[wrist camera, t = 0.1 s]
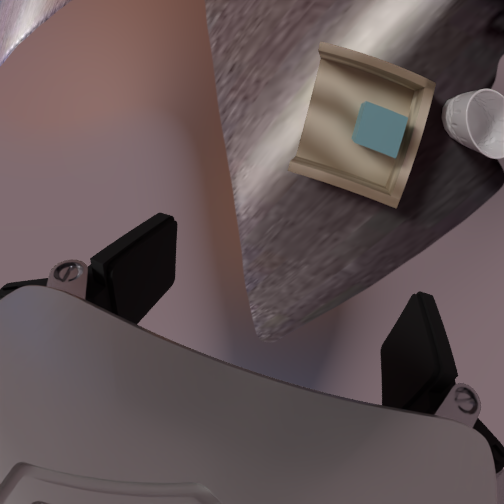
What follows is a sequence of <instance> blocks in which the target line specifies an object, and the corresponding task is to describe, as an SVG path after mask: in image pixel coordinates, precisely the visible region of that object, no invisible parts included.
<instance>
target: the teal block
mask: <svg viewBox="0 0 504 504" xmlns="http://www.w3.org/2000/svg"><path fill="white" fill-rule="evenodd" d="M407 121H408V117H406V116H403V115H401V114H398V113H396V112H394V111H391V110H389V109H386V108H383V107H381V106H378V105H376V104H373V103H370V102H367V101H365V102H364V103H362V104H361V106H360V110H359V113H358V117H357V120H356V124H355V128H354V131H353V135H352V138H351V139H352V140H353V142H354V143H356V144H359V145H362V146H365V147H367V148H370V149H373V150H375V151H378V152H381V153H383V154H386V155H388V156H391V157H393V158H396V157H397V154H398V151H399V148H400V144H401V141H402V138H403V135H404V131H405V128H406V124H407Z"/></svg>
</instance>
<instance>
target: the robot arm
mask: <svg viewBox="0 0 504 504" xmlns="http://www.w3.org/2000/svg"><path fill="white" fill-rule="evenodd" d="M176 240H177V222H176V221H174V217H173V216H170V215H167V214H163V213H158V214H156V215H154V216H153V217H151V218H150V219H148V220H147V221H145V222H143V223H142V224H140V225H139V226H137V227H136V228H134V229H133V230H131V231H130V232H128V233H127V234H125V235H124V236H122V237H121V238H119V239H118V240H116V241H115V242H113V243H112V244H110V245H109V246H107V247H106V248H104V249H103V250H101V251H100V252H99V253H97V254H96V255H95V256H93V257H92V258H90V260H91V265H90V266H88V267H87V265H86V264H85V263H84V262H82V261H79V260H66V261H63V262H60V263H58V264H57V265H55V266H54V267H53V268H52V269H51V272H50V274H49V278H45V279H37V280H28V281H21V282H13V283H8V284H6V285H4V286H3V287H2V288H1V289H0V504H504V470H503V467H504V447H503V445H502V444H501V443H500V442H499V441H498V440H497V438H496V437H495V436H494V435H493V434H492V433H491V432H490V431H489V430H488V428H487V427H486V426H485V425H484V424H483V423H482V422H481V421H480V420H479V419H478V416H479V413H480V410H481V402H480V399H479V396H478V395H477V393H476V392H475V390H474V389H473V388H471V387H470V386H469V385H466V384H464V383H458V384H456V383H455V378H456V377H457V376H458V373H457V369H456V366H455V362H454V358H453V355H452V351H451V348H450V344H449V341H448V338H447V335H446V332H445V329H444V325H443V322H442V320H441V317H440V314H439V311H438V308H437V306H436V303H435V300H434V298H433V296H432V295H430V294H427V293H423V292H418V293H417V294H413V295H412V296H411V298H410V300H409V301H408V303H407V305H406V307H405V309H404V310H403V312H402V314H401V315H400V317H399V319H398V320H397V322H396V324H395V325H394V327H393V329H392V330H391V332H390V334H389V335H388V337H387V338H386V340H385V341H384V343H383V345H382V347H381V370H382V405H377V404H372V403H367V402H363V401H358V400H353V399H349V398H345V397H340V396H336V395H332V394H328V393H324V392H320V391H317V390H313V389H309V388H306V387H302V386H298V385H295V384H291V383H288V382H285V381H281V380H278V379H275V378H271V377H269V376H265V375H262V374H259V373H256V372H253V371H250V370H247V369H244V368H242V367H239V366H236V365H233V364H230V363H227V362H225V361H222V360H219V359H217V358H214V357H211V356H208V355H206V354H204V353H201V352H198V351H196V350H194V349H191V348H189V347H186V346H184V345H181V344H179V343H176V342H174V341H172V340H169V339H167V338H165V337H163V336H160V335H158V334H156V333H153V332H151V331H149V330H147V329H145V328H142V327H141V326H138V325H137V324H138V323H139V322H140V320H141V319H142V318H143V317H144V316H145V315H146V314H147V313H148V311H149V310H150V309H151V308H152V307H153V306H154V305H155V304H156V303H157V302H158V300H159V299H160V298H161V297H162V296H163V295H164V294H165V293H166V292H167V291H168V290H169V288H170V287H171V286H172V285H173V283H174V280H175V263H176Z"/></svg>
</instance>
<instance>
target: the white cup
mask: <svg viewBox="0 0 504 504" xmlns="http://www.w3.org/2000/svg"><path fill="white" fill-rule="evenodd" d="M441 118H442V122H443V126H444V129H445V130H446V132H447V133H448V134H449V136H450V137H451V138H452V139H454V140H456V141H457V142H459V143H461V144H462V145H464V146H466V147H468V148H470V149H472V150H474V151H477V152H479V153H481V154H483V155H485V156H487V157H489V158H492V159H501V158H504V96H503V95H502V94H500V93H499V92H497V91H494V90H492V89H481V90H477V91H472V92H468V93H464V94H461V95H458V96H455V97H453V98H451V99H449V100H447V102H446V103H445V105H444V106H443V109H442V117H441Z"/></svg>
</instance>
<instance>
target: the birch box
mask: <svg viewBox="0 0 504 504" xmlns="http://www.w3.org/2000/svg"><path fill="white" fill-rule="evenodd" d="M318 51H319V54H320V57H321V60H320V64H319V69H318V73H317V77H316V81H315V85H314V89H313V93H312V97H311V100H310V104H309V108H308V112H307V116H306V120H305V124H304V128H303V132H302V135H301V139H300V143H299V147H298V151H297V154H296V156H295V157H294V158H293V159H292V160H291V161H290V164H289V168H288V171H291V172H294V173H297V174H301V175H304V176H307V177H310V178H313V179H316V180H319V181H322V182H325V183H328V184H331V185H334V186H337V187H340V188H343V189H346V190H349V191H351V192H354V193H357V194H360V195H362V196H365V197H368V198H371V199H373V200H376V201H378V202H381V203H384V204H386V205H389V206H391V207H394V208H397V206H398V203H399V201H400V198H401V196H402V193H403V190H404V188H405V185H406V182H407V180H408V177H409V174H410V171H411V168H412V165H413V162H414V159H415V156H416V153H417V150H418V147H419V144H420V141H421V137H422V134H423V131H424V127H425V124H426V120H427V117H428V113H429V109H430V105H431V101H432V97H433V93H434V89H435V85H436V83H435V82H433V81H430V80H428V79H426V78H424V77H422V76H420V75H418V74H415V73H413V72H411V71H408V70H406V69H404V68H401V67H399V66H396V65H394V64H391V63H389V62H386V61H383V60H380V59H378V58H375V57H372V56H369V55H366V54H363V53H360V52H357V51H353V50H350V49H347V48H343V47H339V46H336V45H332V44H328V43H324V42H320V45H319V49H318ZM365 101H367V102H370V103H373V104H376V105H378V106H381V107H383V108H386V109H389V110H391V111H394V112H396V113H398V114H401V115H403V116H406V117H408V121H407V124H406V128H405V131H404V135H403V138H402V141H401V144H400V148H399V151H398V154H397V157H396V158H393V157H391V156H388V155H386V154H383V153H381V152H378V151H375V150H373V149H370V148H367V147H365V146H362V145H359V144H356V143H354V142H353V140H352V139H351V138H352V135H353V131H354V128H355V124H356V120H357V117H358V113H359V110H360V106H361V104H362V103H364V102H365Z"/></svg>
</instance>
